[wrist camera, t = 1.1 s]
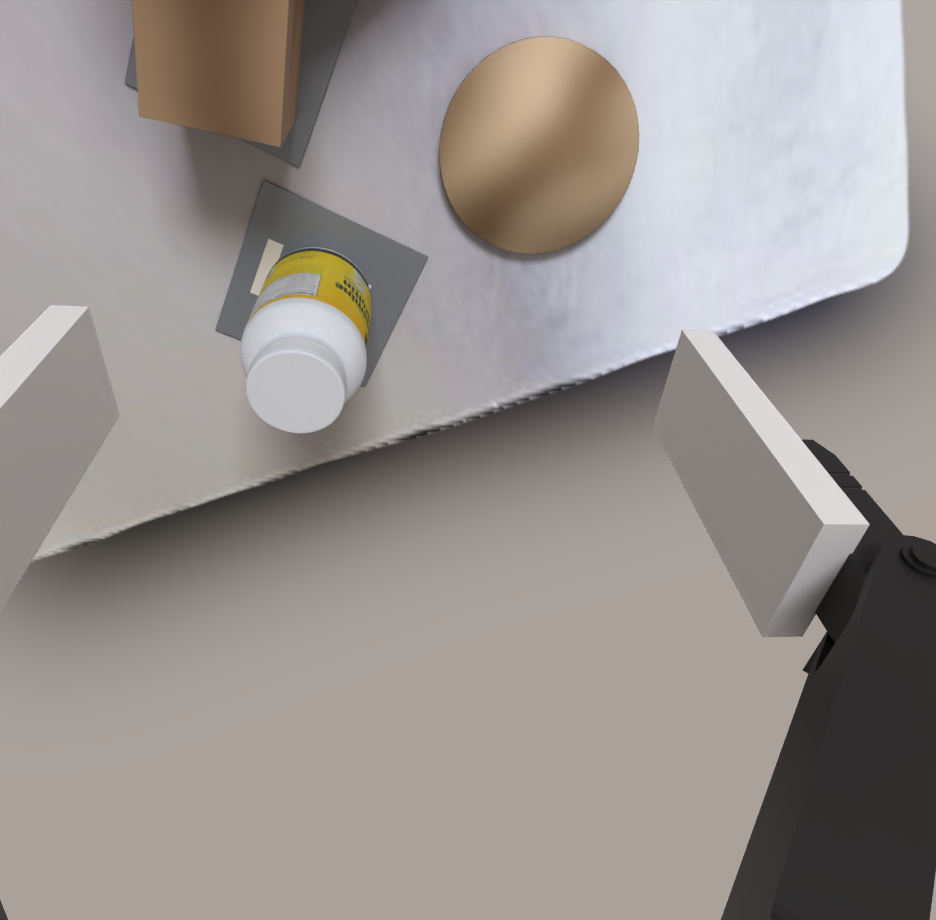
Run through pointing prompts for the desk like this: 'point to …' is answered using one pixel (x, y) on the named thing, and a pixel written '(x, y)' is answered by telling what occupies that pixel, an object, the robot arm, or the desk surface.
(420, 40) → the desk surface
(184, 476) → the desk surface
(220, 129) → the walnut block
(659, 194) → the desk surface
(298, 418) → the pill bottle
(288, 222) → the tile
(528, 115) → the cork coaster
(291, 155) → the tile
